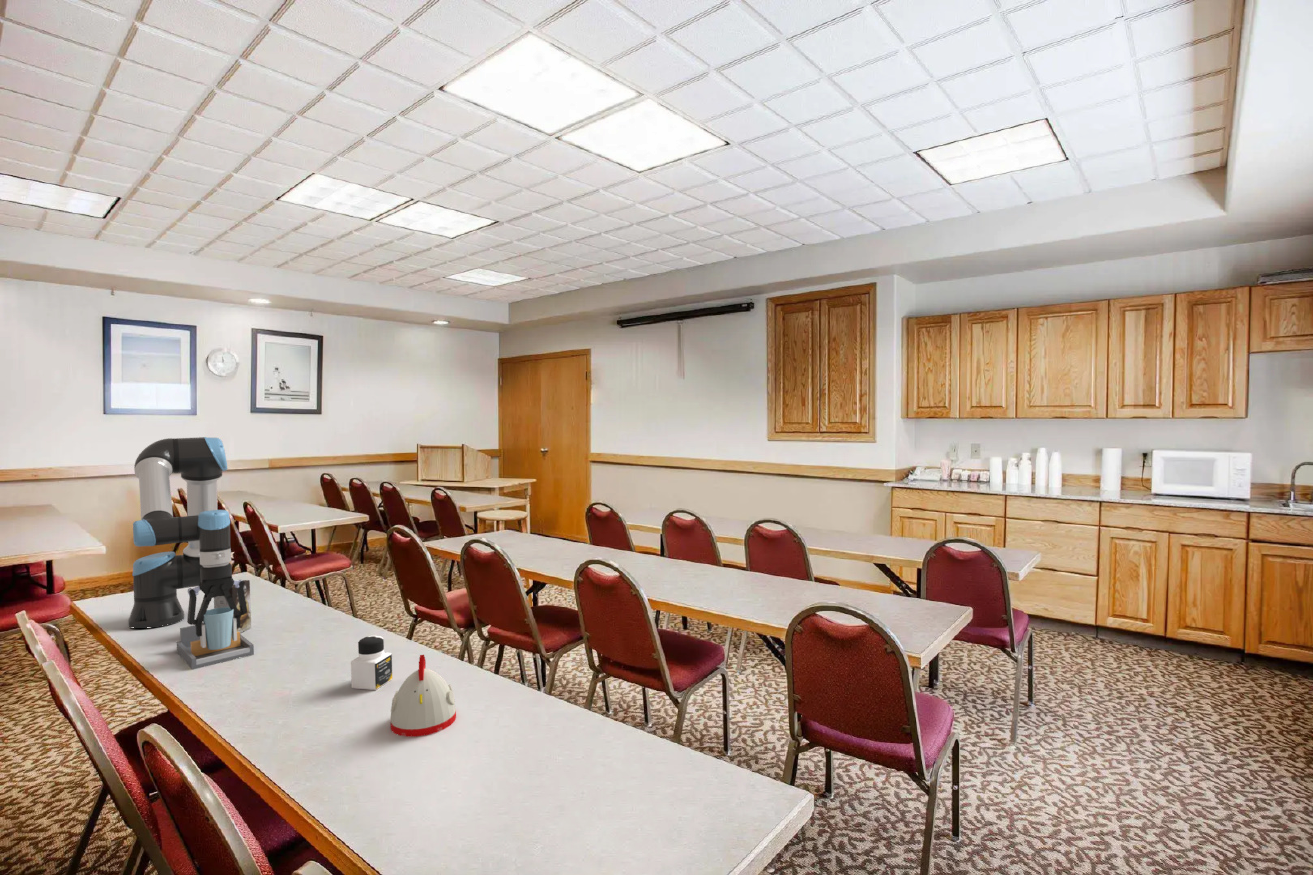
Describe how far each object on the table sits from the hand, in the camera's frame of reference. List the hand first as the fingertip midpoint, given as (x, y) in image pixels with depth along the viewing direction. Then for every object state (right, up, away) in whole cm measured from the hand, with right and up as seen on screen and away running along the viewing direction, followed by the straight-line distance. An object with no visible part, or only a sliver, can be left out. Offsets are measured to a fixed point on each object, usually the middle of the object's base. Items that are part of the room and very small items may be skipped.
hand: (219, 642), depth 189 cm
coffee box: (-10, -4, +23) cm, 25 cm away
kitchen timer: (+74, -5, -42) cm, 86 cm away
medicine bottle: (+53, -4, -21) cm, 57 cm away
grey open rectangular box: (-4, -4, +4) cm, 7 cm away
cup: (0, -1, 0) cm, 1 cm away
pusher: (-4, -3, +4) cm, 7 cm away
